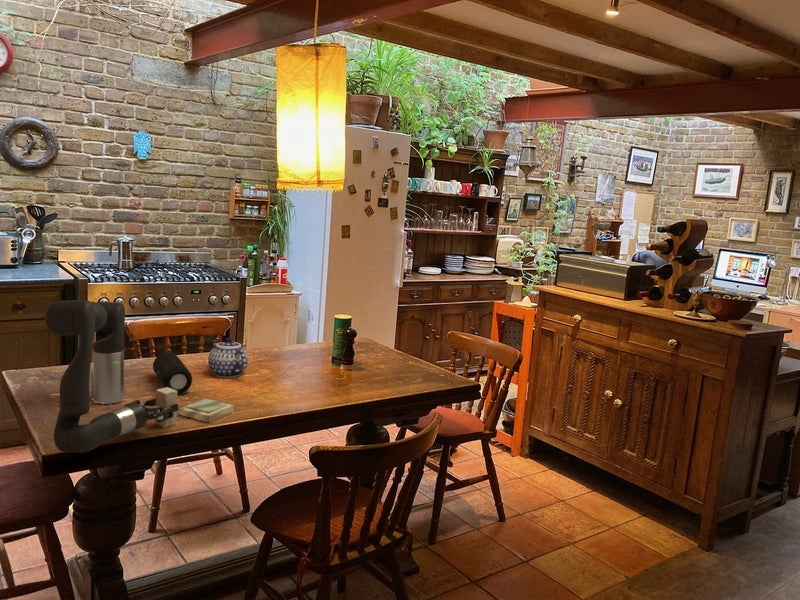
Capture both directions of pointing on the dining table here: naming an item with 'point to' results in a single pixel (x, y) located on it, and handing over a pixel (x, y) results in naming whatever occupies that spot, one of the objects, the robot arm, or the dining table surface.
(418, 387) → the dining table surface
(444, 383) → the dining table surface
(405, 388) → the dining table surface
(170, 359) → the portable speaker
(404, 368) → the dining table surface
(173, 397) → the box
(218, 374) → the teapot
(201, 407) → the birch base
